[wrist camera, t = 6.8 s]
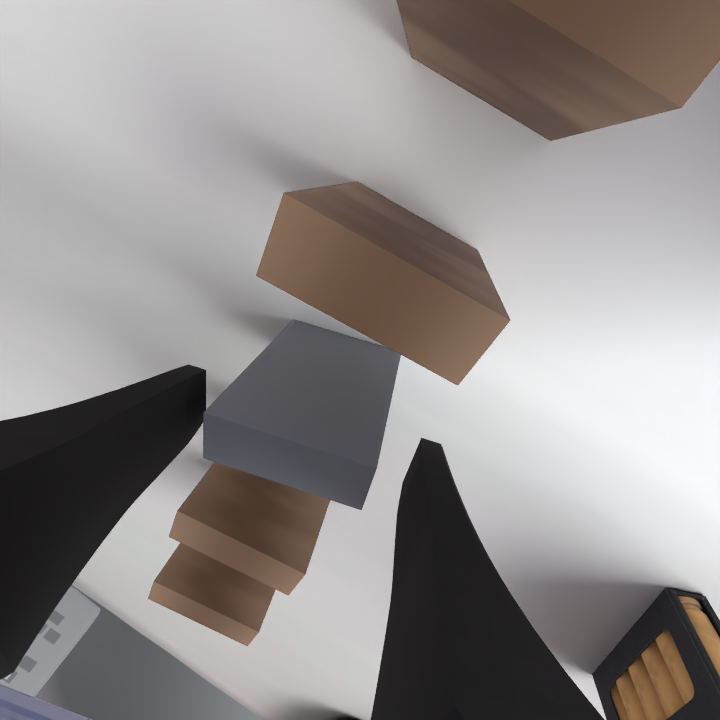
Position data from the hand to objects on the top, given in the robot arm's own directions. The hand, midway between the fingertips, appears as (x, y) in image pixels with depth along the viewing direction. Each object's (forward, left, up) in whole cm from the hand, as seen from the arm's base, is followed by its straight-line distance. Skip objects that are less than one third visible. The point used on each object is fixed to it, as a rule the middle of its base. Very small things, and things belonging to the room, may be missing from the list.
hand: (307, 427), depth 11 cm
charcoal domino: (0, 0, -5) cm, 5 cm away
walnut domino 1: (0, +6, -5) cm, 8 cm away
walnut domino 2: (0, +11, -5) cm, 12 cm away
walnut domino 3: (0, -5, -5) cm, 8 cm away
